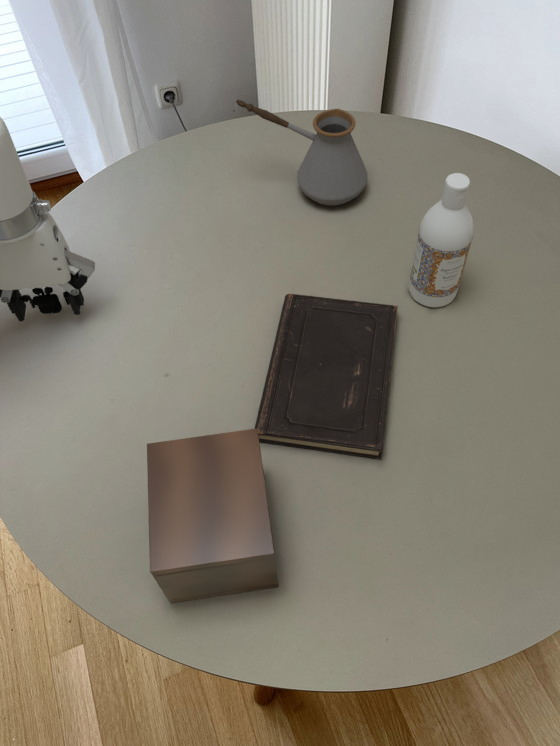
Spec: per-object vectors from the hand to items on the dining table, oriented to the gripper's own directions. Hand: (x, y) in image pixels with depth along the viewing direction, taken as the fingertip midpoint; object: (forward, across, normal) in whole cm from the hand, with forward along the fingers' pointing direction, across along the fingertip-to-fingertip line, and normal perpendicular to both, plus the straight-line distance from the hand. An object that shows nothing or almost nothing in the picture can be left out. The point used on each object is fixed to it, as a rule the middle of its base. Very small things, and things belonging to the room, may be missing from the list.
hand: (50, 310), depth 92 cm
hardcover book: (+2, -37, +16) cm, 41 cm away
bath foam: (+1, -55, +4) cm, 55 cm away
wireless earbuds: (+1, 0, 0) cm, 1 cm away
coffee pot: (+1, -40, -22) cm, 46 cm away
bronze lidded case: (+2, -21, +36) cm, 41 cm away
